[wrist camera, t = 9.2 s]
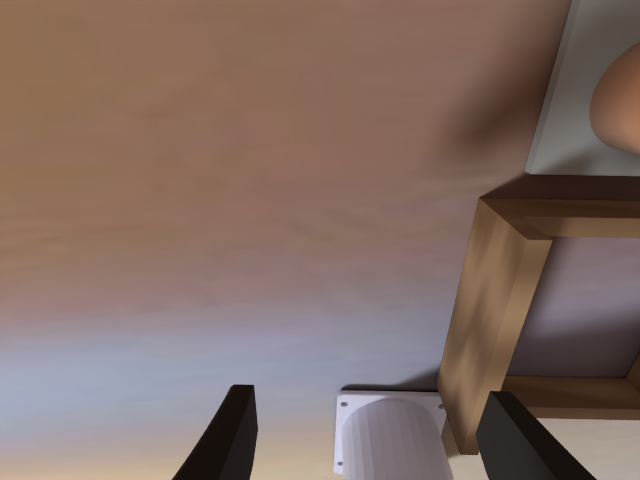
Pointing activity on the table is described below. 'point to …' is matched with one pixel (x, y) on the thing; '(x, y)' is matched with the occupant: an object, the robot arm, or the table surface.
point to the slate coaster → (583, 92)
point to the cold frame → (523, 314)
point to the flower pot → (619, 103)
